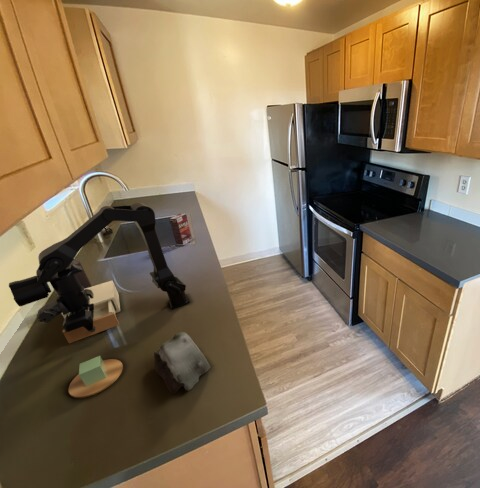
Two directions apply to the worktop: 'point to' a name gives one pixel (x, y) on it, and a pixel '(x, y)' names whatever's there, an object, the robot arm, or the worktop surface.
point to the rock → (180, 362)
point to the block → (92, 371)
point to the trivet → (112, 374)
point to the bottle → (81, 275)
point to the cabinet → (104, 295)
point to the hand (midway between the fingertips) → (90, 329)
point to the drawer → (96, 322)
